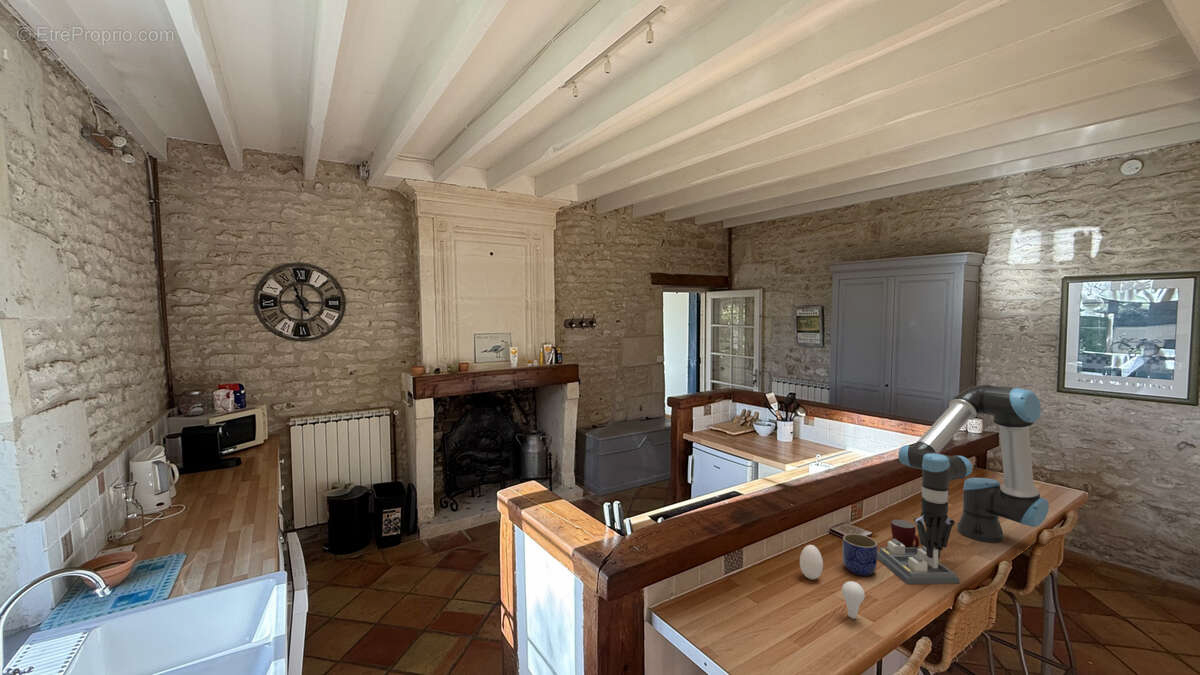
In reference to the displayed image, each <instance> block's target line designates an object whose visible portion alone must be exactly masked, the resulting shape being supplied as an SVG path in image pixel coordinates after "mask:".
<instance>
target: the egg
mask: <svg viewBox="0 0 1200 675" xmlns="http://www.w3.org/2000/svg"><path fill="white" fill-rule="evenodd" d="M823 561H824V560H823V556H822V554H821V552H820V550H819V549H818V547H816V545H813V544H807V545H806V546H805V547H803V549H802V551H801V552H800V556H799V567H800V570H801V573H802V574H803V575H804V576H805V577H806V578H807V579H809V580H816V579H818V578H819V577H821V575H822V572H823V570H824V569H823V568H824V562H823Z"/></svg>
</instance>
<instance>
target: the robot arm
mask: <svg viewBox="0 0 1200 675" xmlns="http://www.w3.org/2000/svg"><path fill="white" fill-rule="evenodd" d="M948 406H949V407H947V409H946V410H945V411H944V412H943V413H942V414H941V415H940V416H939V417H938V418H937V419H936V421H935V422H934V423H932V425H931V426H930V427H929V428H928V429H927V431H926V432H924V434H923V435H922V436H921V437H920V438H919V439H918V440H917V441H916V442H915V443H914V444H913V445H906V444H905V445H903V446H901V447H899V448H900V449H899V451H898V456H897V457H898V460H899V462H900V463H901V464H903V465H905V466H906V467H909V468H914V469H917V470H921V471H922V472H921V473H922V478H921V480H922V482H921V497H922V498H921V506H920V507H921V510H922V512H921V514H920V516H919V517H918V518H917V517H914V519H913V522H914V524H915V526H916V529H917V533H918V539H919V543H920V545H922V546H925V547H926V548H927V554H926V555H927V556H928V565H930V566H931V567H932V568H938V561H939V559H940V558H941V552H942V551H943V550H944V548H947V546H948V543H949V539H950V536H951V531H952V529H953V526H954V525H955V523H956V522H955V520H954V519H952V518H950V517H949V515H948V513H949V503H948V502H949V484H950V483H949V482H952V481H954V480H960V479H964V478H967V477H968V478H967V479H965V480H964V482H963V489H962V490H963V496H962V497H963V498H962V503H963V504H962V508H963V509H962V514H961V516H960V518H959V521H958V522H957V526H956V528H957V532H958V533H959V534H961V535H963V536H965V537H967V538H970V539H973V540H975V541H980V542H981V541H982V542H985V543H986V542H987V543H1001V542H1003V541H1004V531H1003V529H1002V525H1001V523H1000V520H999V517H1000V518H1003V519H1007V520H1010V521H1013V522H1016V523H1018V524H1021V525H1025V526H1029V527H1032V528H1036V527H1038V526H1040V525H1042V524H1043V522H1044V521H1045V519H1046V518H1047V515H1048V512H1049V507H1050V505H1049V501H1048V500H1047V499H1046V498H1044V497H1041V494H1040V493H1041V492H1040V490H1039V488H1037V487H1036V486H1035V484H1034V473H1033V472H1034V471H1033V462H1032V459H1033V458H1032V448H1031V440H1030V439H1031V438H1030V428H1031V427H1033V426H1034V424H1035V422H1037V421H1038V420H1039V419H1040V417H1041V412H1042V407H1041V401H1040V399H1039V397H1038V396H1037V394H1036V393H1035V392H1033V391H1032V390H1029V389H1023V388H1020V387H1009V386H1000V385H990V384H979V385H974V386H971V387H969V388H966V389H965V390H963V391H961V392H960V393H958V394H956V395H955V396H954V397H953V398H952V399H951V400H950V401H949V403H948ZM978 415H986V416H991V417H993V423H994V424H995V425H996V426H997V427H998V428H999V438H1000V448H1001V449H1000V450H1001V461H1002V470H1003V481H1004V482H1003V483H1002V484H1001V483H1000V481H999V480H996V479H993V478H989V477H987V478H986V477H970V478H969V476H970V475H971V474H972V473H973V464H972V462H971V461H970V460H969V459H968V458H967V457H965V456H963V455H952V456H951V455H947V454H944V453H943V454H942V453H940V452H941V451H942V449H944V447H945V446H946V445H947V444H948V443H949V442H950V441H951V440H952V439H953V438H954V436H956V434H957V433H958V432H959V431H960V430H961V429H962V428H963V426H964V425H965V424H966V423H967V422H969V420H973V419H975V418H976V417H977V416H978Z"/></svg>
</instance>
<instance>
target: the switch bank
mask: <svg viewBox="0 0 1200 675" xmlns="http://www.w3.org/2000/svg"><path fill="white" fill-rule="evenodd" d="M917 549H922V547H921V548H920V547H919V546H918V547H905V555H891V554H890V553H889V552H888V551H887V550H888V547H879V551H877V560H878V561H879V562H880V563H882V564H883V565H885V566H886V568H888V569H889V570H890V571H891V572H892V573H894V575H896V576H897V577H898V578H899V579H900V580H901V581H902V582H904V583H905V584H906V585H917V584H918V585H920V584H922V585H923V584H929V585H931V584H935V585H936V584H941V585H942V584H960V577H959V576H958V575H956V573H955V572H954V571H952V570H951V569H950V568H948V567H947V566H945V564H942V563H941V561H940V560H938V568H932V567H931V566H930V565H928V564H927V573H913V572H912V571H911V570H910V569H908V557H913V555H917Z"/></svg>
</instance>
